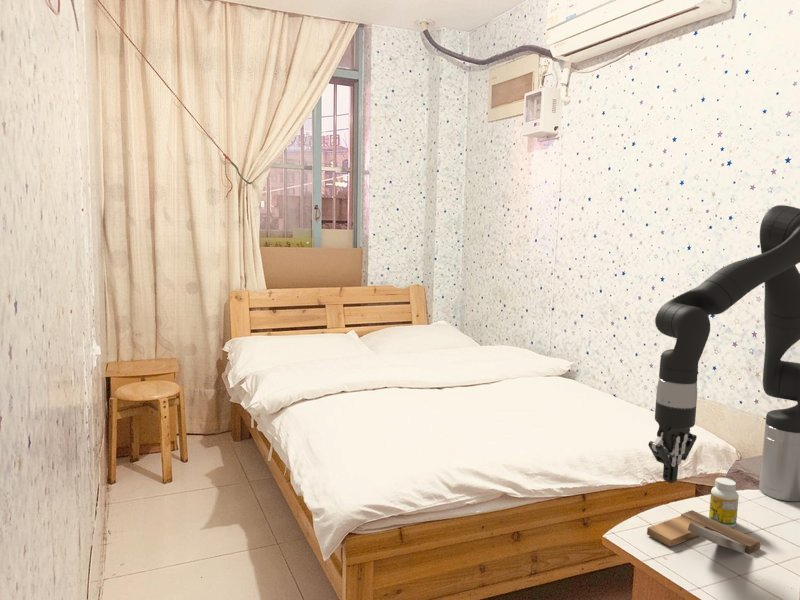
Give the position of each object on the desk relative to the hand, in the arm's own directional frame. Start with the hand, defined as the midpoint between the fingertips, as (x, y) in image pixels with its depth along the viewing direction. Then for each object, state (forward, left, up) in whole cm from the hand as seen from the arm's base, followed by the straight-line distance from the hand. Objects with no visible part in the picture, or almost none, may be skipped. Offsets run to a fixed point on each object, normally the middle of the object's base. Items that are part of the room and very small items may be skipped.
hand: (669, 480), depth 121 cm
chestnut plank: (-3, 0, -12) cm, 13 cm away
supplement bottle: (-17, +2, -13) cm, 22 cm away
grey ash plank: (-3, +9, -10) cm, 14 cm away
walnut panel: (-11, +5, -13) cm, 18 cm away
